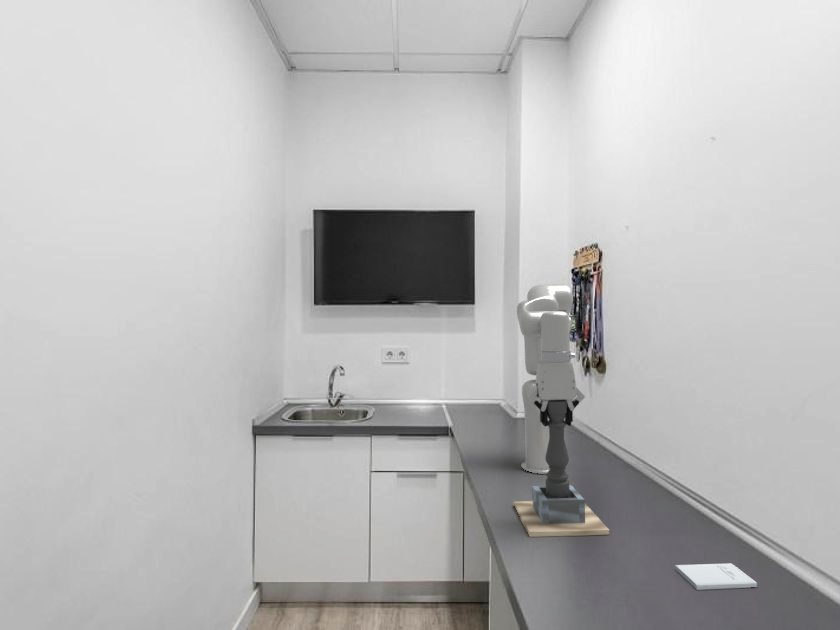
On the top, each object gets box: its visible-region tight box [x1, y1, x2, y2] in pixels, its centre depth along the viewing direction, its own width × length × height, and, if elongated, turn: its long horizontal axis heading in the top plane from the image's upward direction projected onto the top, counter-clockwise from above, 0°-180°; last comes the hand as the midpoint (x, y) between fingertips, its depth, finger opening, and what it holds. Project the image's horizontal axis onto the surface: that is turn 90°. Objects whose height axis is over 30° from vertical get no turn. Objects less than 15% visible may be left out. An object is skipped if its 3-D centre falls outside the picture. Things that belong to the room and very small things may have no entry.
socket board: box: [512, 484, 610, 538], centre depth 135 cm, size 20×20×7 cm
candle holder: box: [545, 400, 570, 497], centre depth 135 cm, size 6×6×25 cm
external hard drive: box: [674, 562, 758, 591], centre depth 105 cm, size 2×8×12 cm
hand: (556, 424), depth 135 cm, fingers closed on candle holder, 5 cm apart
